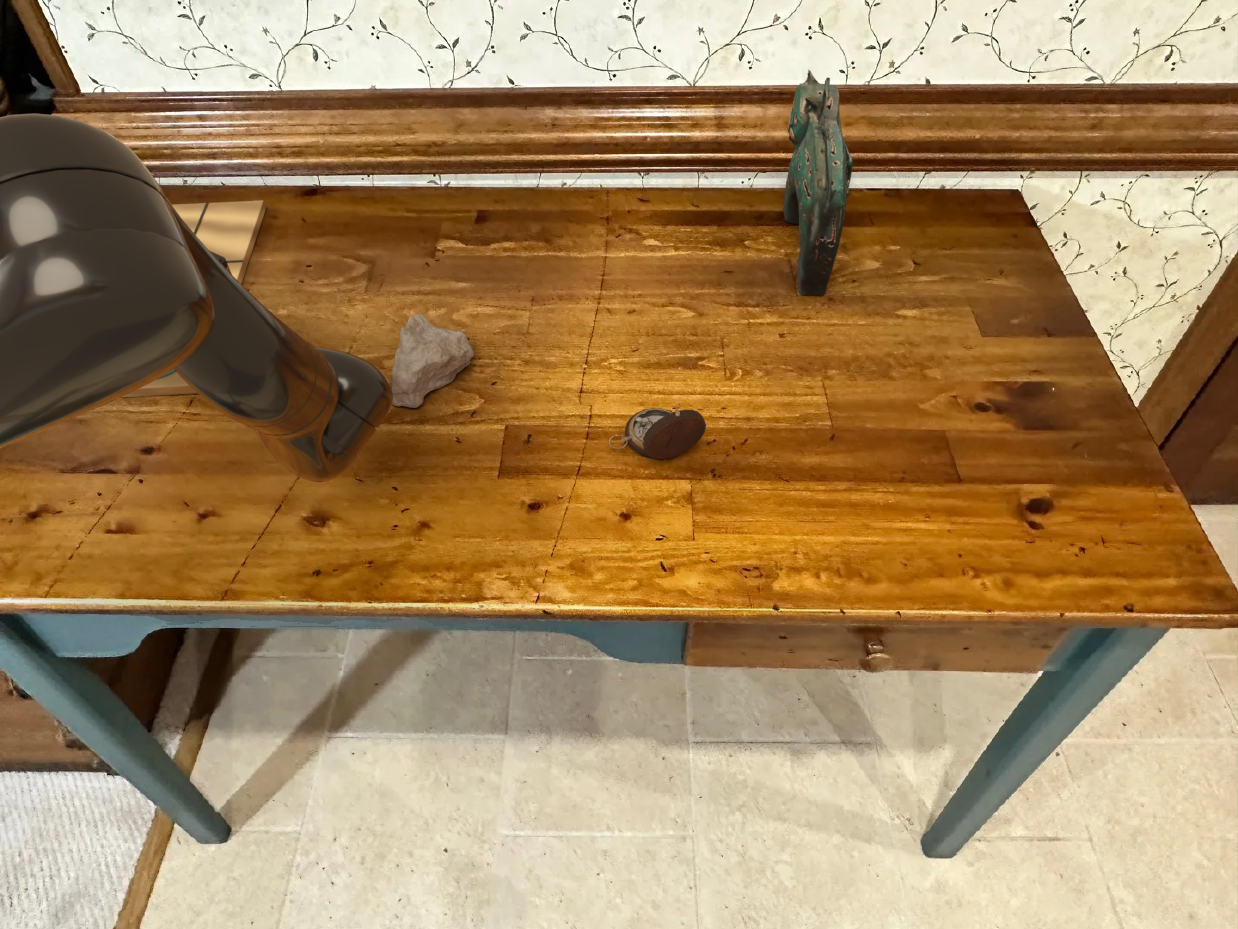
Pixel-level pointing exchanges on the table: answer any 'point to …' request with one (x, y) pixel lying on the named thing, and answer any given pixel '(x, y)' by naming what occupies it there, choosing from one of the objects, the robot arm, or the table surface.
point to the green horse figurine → (817, 181)
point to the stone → (426, 360)
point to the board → (226, 235)
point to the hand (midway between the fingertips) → (107, 264)
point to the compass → (663, 432)
